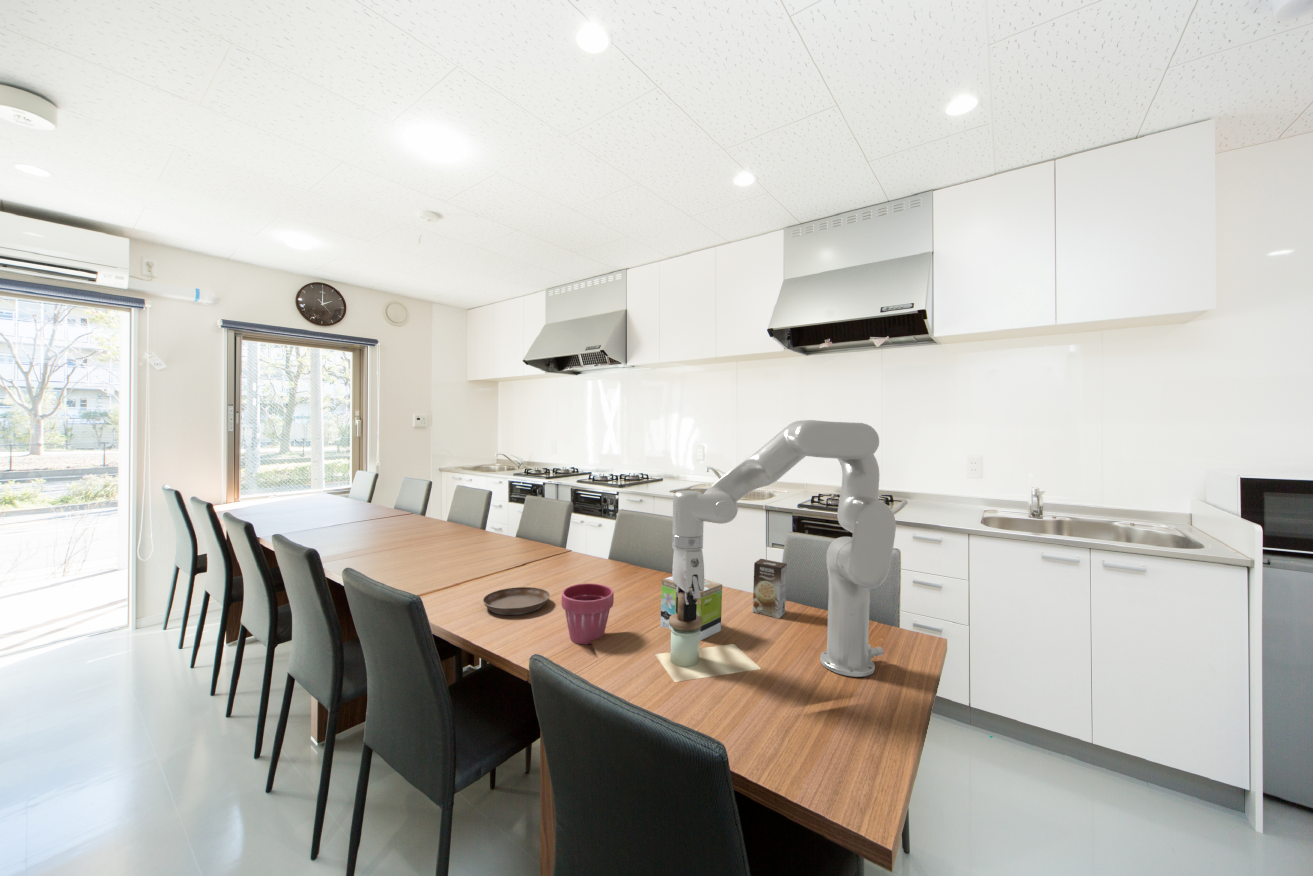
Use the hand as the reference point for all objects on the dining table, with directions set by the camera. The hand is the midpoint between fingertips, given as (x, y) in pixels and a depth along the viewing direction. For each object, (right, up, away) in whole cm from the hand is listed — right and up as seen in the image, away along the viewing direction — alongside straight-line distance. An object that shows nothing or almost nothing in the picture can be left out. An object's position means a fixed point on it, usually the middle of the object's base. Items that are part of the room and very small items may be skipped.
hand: (685, 615), depth 118 cm
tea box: (+2, -12, +20) cm, 24 cm away
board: (+5, -12, 0) cm, 13 cm away
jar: (0, -11, 0) cm, 11 cm away
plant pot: (-26, -12, +15) cm, 32 cm away
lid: (0, -2, 0) cm, 2 cm away
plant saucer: (-52, -11, +37) cm, 65 cm away
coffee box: (+29, -13, +36) cm, 48 cm away
